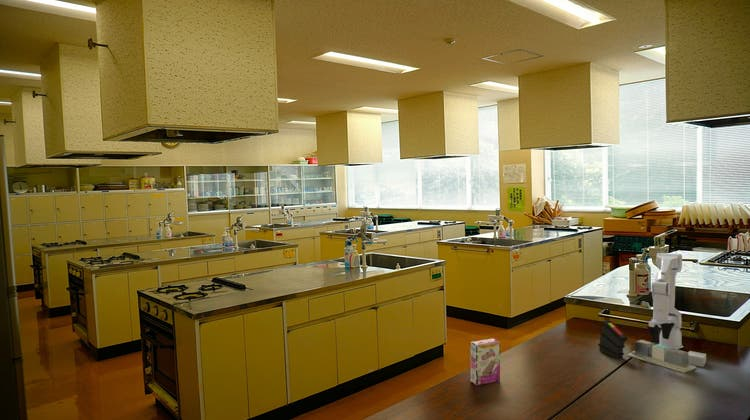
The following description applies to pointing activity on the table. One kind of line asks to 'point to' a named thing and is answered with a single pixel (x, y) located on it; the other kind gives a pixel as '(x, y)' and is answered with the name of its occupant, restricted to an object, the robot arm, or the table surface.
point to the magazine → (612, 340)
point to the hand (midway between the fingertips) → (660, 340)
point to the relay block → (696, 358)
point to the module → (659, 352)
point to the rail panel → (674, 360)
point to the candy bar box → (485, 361)
